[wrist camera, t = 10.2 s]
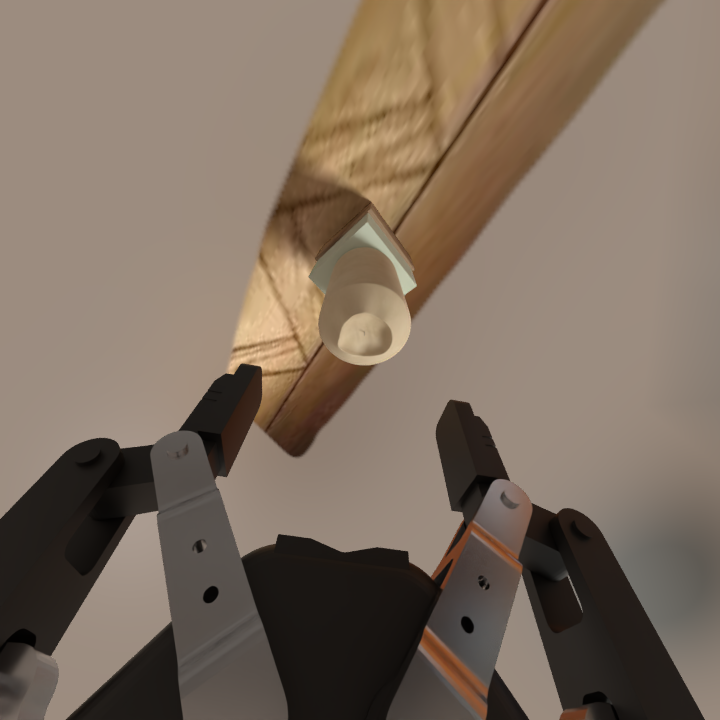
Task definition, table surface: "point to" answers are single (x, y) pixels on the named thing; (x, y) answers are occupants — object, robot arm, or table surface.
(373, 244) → the top block
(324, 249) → the base block
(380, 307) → the candle
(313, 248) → the table surface
